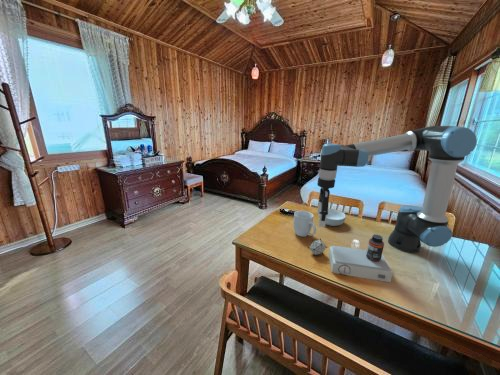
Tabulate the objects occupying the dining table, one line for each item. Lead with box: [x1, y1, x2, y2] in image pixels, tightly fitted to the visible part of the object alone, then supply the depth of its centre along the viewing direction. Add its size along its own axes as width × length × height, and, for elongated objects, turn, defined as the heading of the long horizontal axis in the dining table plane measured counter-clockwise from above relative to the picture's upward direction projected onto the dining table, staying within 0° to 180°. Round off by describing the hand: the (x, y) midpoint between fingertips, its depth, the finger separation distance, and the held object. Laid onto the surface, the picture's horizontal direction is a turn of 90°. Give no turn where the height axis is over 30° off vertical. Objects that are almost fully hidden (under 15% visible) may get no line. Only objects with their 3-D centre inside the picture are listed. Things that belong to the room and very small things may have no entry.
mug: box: [293, 210, 317, 238], centre depth 128 cm, size 15×11×13 cm
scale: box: [328, 244, 394, 283], centre depth 102 cm, size 24×15×6 cm, turn 77°
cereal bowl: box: [318, 208, 347, 227], centre depth 145 cm, size 17×17×7 cm
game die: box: [307, 238, 328, 257], centre depth 111 cm, size 9×8×10 cm
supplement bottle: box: [366, 233, 385, 262], centre depth 98 cm, size 6×6×11 cm
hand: (320, 220), depth 107 cm, fingers open, 13 cm apart
